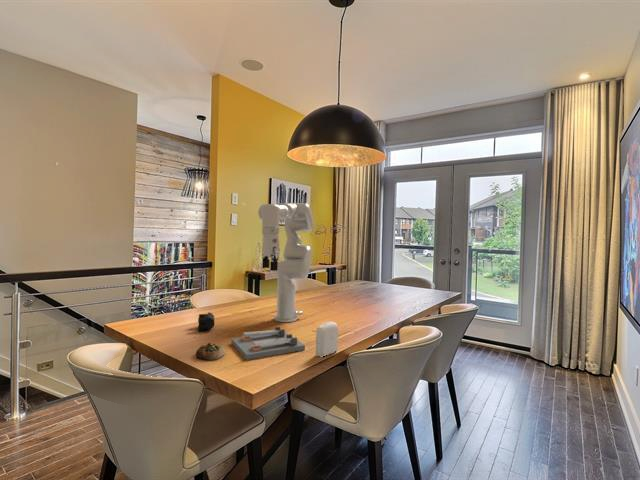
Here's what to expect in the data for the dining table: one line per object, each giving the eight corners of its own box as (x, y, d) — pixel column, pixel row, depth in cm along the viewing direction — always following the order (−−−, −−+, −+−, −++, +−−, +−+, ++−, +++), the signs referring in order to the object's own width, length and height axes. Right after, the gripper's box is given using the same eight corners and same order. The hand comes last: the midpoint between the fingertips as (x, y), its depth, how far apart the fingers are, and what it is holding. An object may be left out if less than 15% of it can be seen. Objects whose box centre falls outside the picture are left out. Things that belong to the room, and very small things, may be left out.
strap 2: (291, 340, 138) (292, 336, 138) (294, 342, 135) (295, 338, 135) (252, 344, 129) (252, 340, 129) (255, 347, 127) (255, 342, 127)
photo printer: (322, 358, 126) (323, 326, 126) (313, 355, 129) (314, 323, 129) (338, 351, 134) (339, 321, 134) (330, 349, 137) (331, 318, 137)
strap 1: (280, 332, 148) (280, 328, 148) (282, 334, 146) (283, 330, 146) (242, 335, 140) (243, 331, 140) (245, 337, 137) (245, 333, 137)
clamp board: (284, 335, 152) (284, 324, 152) (304, 350, 135) (305, 337, 135) (231, 343, 140) (231, 331, 140) (246, 360, 123) (247, 346, 122)
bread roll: (188, 355, 125) (191, 342, 125) (213, 351, 134) (215, 339, 134) (207, 364, 119) (209, 350, 119) (231, 359, 128) (233, 346, 128)
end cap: (214, 331, 155) (214, 317, 155) (198, 332, 153) (198, 317, 153) (214, 325, 165) (214, 311, 164) (198, 326, 163) (199, 312, 162)
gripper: (286, 232, 146) (285, 271, 147) (270, 231, 161) (270, 266, 162) (270, 232, 142) (269, 272, 143) (255, 230, 157) (255, 267, 158)
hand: (269, 269), depth 152 cm, fingers open, 9 cm apart
